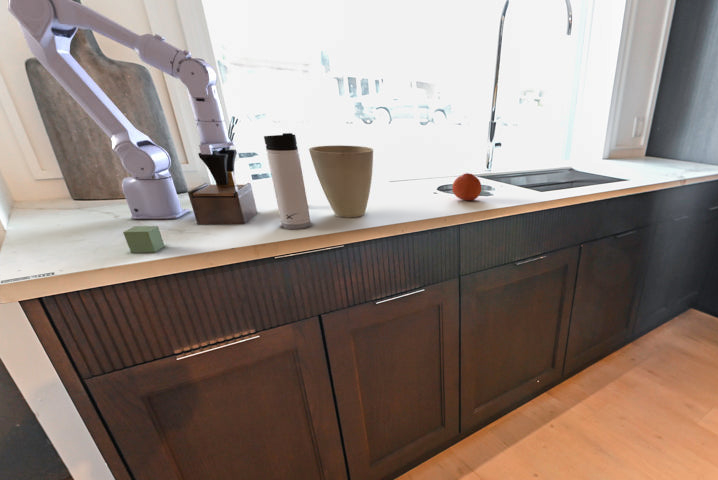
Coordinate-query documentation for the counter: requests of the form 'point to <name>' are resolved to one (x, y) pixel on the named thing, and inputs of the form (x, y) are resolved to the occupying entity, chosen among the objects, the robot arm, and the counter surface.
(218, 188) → the lid
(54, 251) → the counter surface
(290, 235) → the counter surface
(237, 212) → the box
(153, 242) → the block
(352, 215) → the plant pot
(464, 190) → the fruit
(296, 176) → the travel mug
